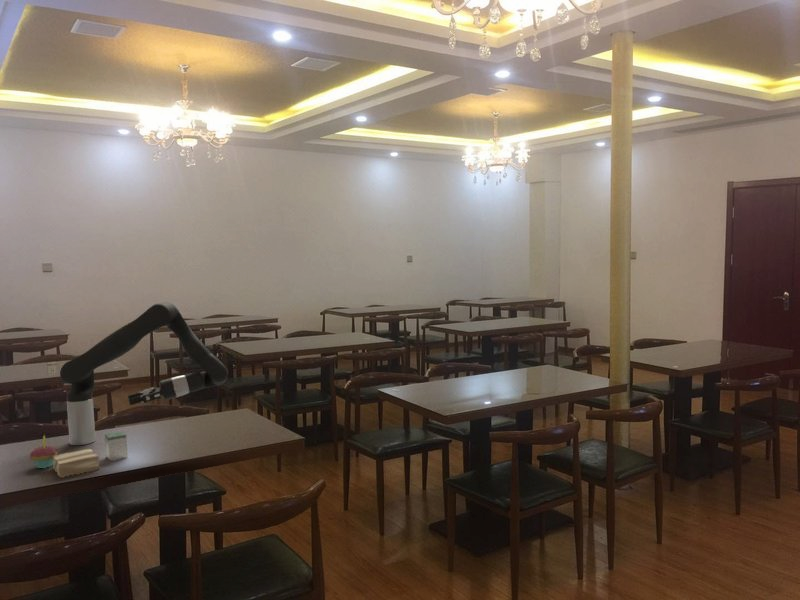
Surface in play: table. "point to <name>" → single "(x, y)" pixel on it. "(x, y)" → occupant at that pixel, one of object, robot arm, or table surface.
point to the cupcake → (43, 455)
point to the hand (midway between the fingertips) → (129, 400)
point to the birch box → (75, 462)
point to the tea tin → (116, 445)
